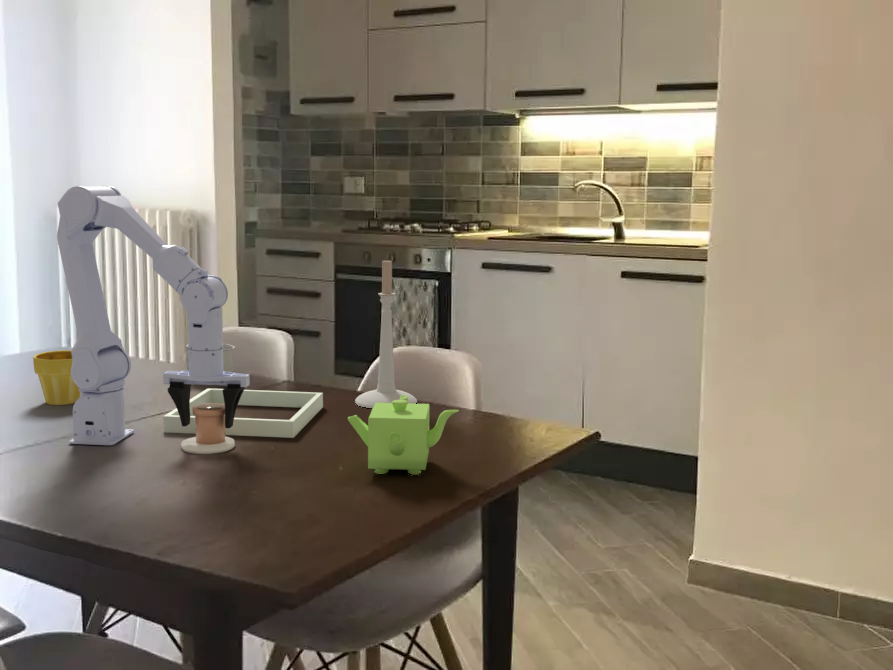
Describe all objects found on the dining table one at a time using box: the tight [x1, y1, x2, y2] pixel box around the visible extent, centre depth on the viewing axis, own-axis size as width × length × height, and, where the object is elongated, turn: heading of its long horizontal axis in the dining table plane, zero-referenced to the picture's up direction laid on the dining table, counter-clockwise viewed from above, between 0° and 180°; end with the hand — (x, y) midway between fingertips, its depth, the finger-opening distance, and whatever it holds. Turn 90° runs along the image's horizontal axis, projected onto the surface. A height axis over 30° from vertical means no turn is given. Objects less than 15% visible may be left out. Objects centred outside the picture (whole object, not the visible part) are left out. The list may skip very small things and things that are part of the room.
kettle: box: [347, 395, 460, 474], centre depth 162 cm, size 15×14×11 cm
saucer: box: [180, 435, 236, 455], centre depth 173 cm, size 9×9×1 cm
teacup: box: [185, 343, 236, 382], centre depth 226 cm, size 14×11×8 cm
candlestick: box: [354, 258, 418, 410], centre depth 205 cm, size 13×13×30 cm
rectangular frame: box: [163, 388, 324, 439], centre depth 192 cm, size 24×24×3 cm
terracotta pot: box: [193, 403, 226, 445], centre depth 173 cm, size 6×6×6 cm
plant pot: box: [32, 349, 81, 406], centre depth 203 cm, size 10×10×10 cm
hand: (207, 426), depth 172 cm, fingers open, 7 cm apart
